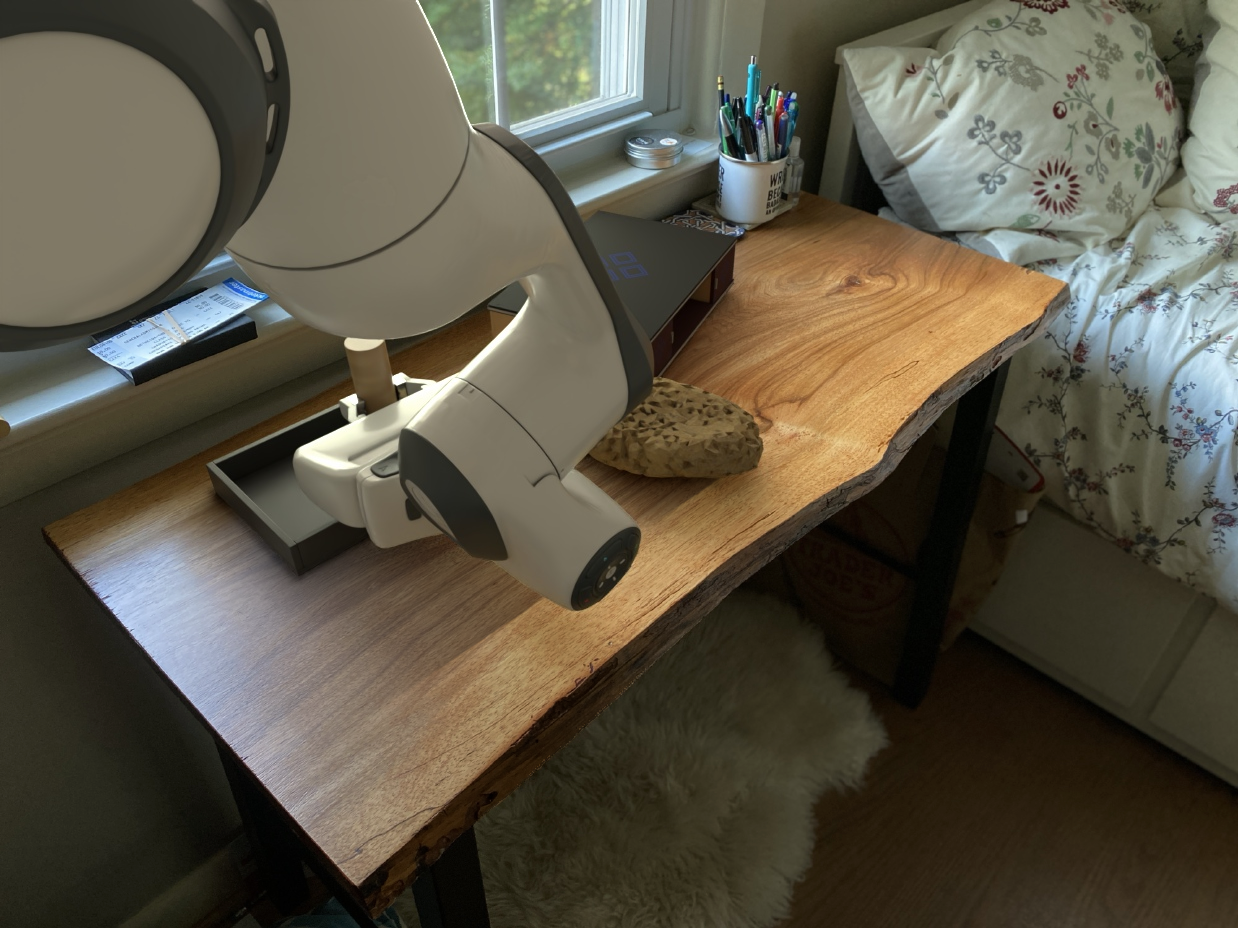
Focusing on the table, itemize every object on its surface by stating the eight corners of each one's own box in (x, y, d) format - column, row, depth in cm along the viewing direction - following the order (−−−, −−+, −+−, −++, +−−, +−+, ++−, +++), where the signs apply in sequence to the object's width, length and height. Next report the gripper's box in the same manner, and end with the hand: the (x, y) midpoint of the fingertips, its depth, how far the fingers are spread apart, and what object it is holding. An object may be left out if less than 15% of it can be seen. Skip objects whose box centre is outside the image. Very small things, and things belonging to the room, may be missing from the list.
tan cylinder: (381, 482, 80) (353, 364, 72) (351, 457, 83) (321, 341, 75) (430, 457, 83) (407, 340, 75) (399, 433, 85) (374, 318, 78)
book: (733, 290, 108) (738, 236, 104) (646, 402, 90) (647, 343, 86) (599, 261, 114) (598, 209, 109) (492, 361, 96) (486, 304, 92)
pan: (298, 576, 72) (289, 547, 70) (214, 491, 80) (205, 464, 78) (476, 477, 81) (472, 449, 79) (385, 410, 89) (380, 384, 87)
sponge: (523, 448, 86) (674, 518, 73) (520, 367, 83) (676, 424, 70) (629, 416, 94) (783, 474, 81) (629, 341, 91) (789, 388, 78)
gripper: (568, 379, 75) (465, 317, 83) (345, 494, 64) (250, 411, 72) (571, 441, 79) (472, 377, 87) (362, 560, 68) (270, 474, 76)
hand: (370, 393), depth 79 cm, fingers closed on tan cylinder, 3 cm apart
